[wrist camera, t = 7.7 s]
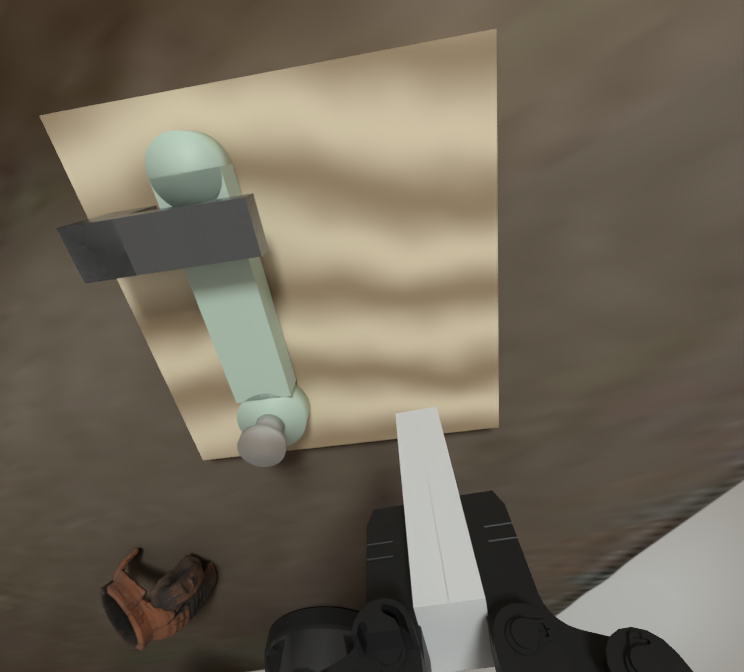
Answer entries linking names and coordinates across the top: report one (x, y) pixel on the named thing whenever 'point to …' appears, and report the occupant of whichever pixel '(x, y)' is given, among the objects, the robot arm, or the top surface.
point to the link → (230, 287)
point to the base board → (330, 236)
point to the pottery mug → (156, 601)
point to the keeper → (165, 238)
